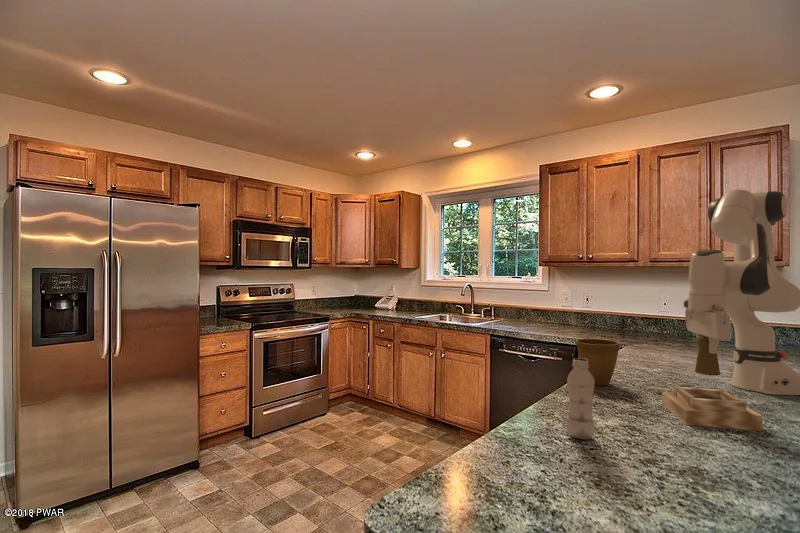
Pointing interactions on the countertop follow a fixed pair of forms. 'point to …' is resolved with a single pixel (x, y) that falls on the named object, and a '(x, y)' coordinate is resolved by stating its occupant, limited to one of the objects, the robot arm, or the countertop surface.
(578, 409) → the plastic bottle
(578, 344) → the plant pot
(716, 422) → the display stand
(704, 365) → the cork
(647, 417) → the countertop surface
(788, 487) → the countertop surface
